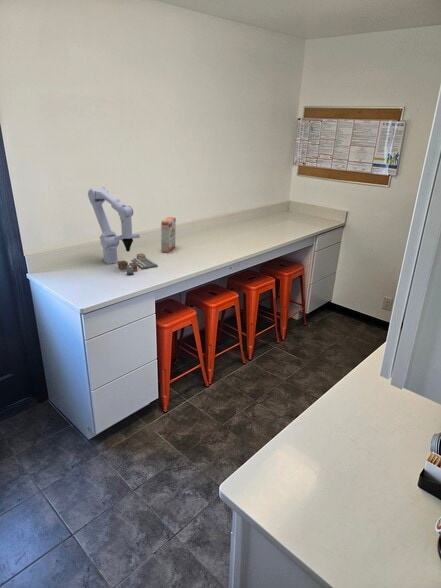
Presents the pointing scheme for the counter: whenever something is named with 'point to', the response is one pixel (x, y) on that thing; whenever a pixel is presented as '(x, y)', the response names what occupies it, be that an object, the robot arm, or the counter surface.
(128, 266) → the metal peg
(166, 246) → the cracker box
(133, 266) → the walnut block
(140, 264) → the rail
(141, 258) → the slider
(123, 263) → the walnut block
